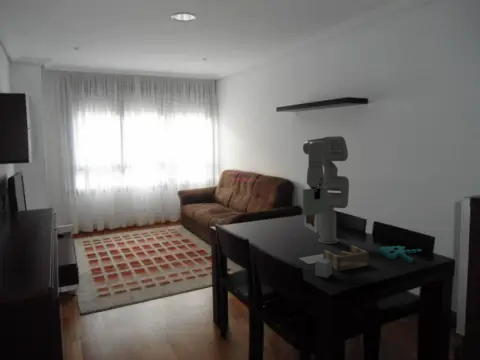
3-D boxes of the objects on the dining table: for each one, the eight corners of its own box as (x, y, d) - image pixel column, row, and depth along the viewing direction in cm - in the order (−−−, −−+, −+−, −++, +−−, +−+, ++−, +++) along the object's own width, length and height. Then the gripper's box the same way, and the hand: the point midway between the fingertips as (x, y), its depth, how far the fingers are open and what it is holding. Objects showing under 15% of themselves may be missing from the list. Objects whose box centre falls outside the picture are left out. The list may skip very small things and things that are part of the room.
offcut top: (342, 254, 200) (342, 250, 199) (352, 257, 195) (352, 253, 195) (339, 255, 198) (340, 251, 198) (349, 258, 193) (349, 254, 193)
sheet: (303, 214, 200) (303, 189, 198) (325, 212, 205) (325, 187, 203) (305, 215, 197) (305, 189, 196) (327, 212, 203) (327, 187, 201)
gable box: (304, 225, 277) (303, 188, 274) (320, 224, 280) (320, 187, 277) (316, 233, 256) (316, 193, 252) (334, 231, 259) (334, 192, 255)
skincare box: (331, 274, 183) (331, 260, 182) (326, 278, 178) (326, 263, 177) (320, 271, 187) (320, 257, 186) (315, 275, 182) (315, 261, 181)
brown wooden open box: (323, 262, 199) (323, 250, 198) (352, 257, 206) (352, 245, 205) (338, 271, 187) (338, 257, 186) (368, 265, 194) (368, 252, 193)
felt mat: (298, 258, 206) (298, 258, 206) (322, 254, 212) (322, 253, 212) (308, 264, 197) (308, 263, 197) (333, 259, 203) (333, 259, 203)
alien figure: (421, 253, 211) (385, 247, 223) (421, 249, 210) (385, 243, 223) (411, 263, 195) (374, 256, 208) (412, 259, 195) (374, 252, 208)
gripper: (301, 164, 204) (301, 197, 206) (318, 166, 189) (318, 201, 191) (313, 163, 206) (313, 195, 209) (330, 165, 192) (330, 200, 194)
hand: (315, 198), depth 200 cm, fingers closed on sheet, 2 cm apart
